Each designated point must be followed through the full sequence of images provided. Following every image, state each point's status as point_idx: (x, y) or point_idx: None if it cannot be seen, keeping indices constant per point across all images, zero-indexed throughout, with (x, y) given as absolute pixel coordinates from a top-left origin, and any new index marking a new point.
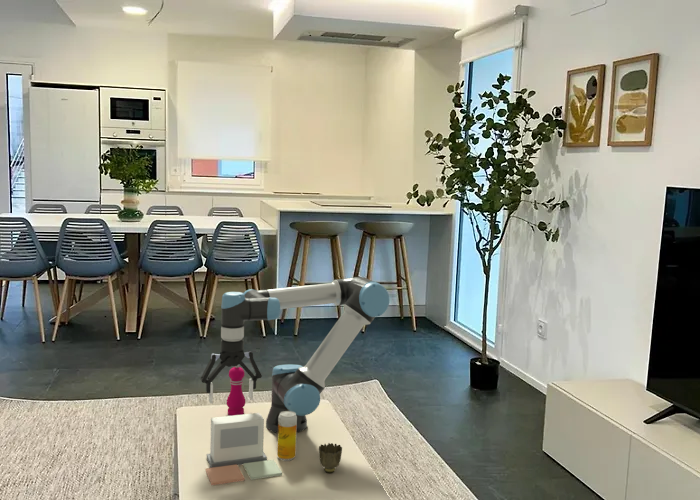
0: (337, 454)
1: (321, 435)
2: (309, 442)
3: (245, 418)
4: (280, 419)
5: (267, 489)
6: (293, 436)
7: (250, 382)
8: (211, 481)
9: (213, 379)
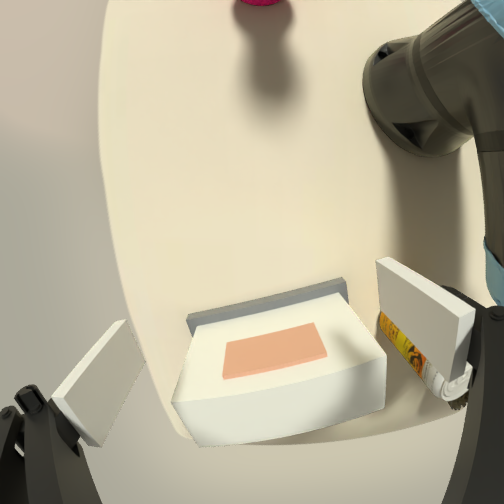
0: (466, 400)
1: (481, 182)
2: (458, 222)
3: (318, 412)
4: (432, 392)
5: (326, 432)
6: None
7: (441, 353)
8: None
9: (89, 473)
